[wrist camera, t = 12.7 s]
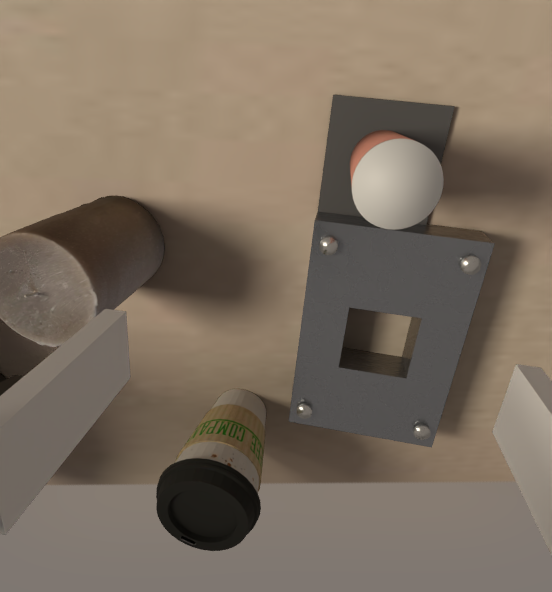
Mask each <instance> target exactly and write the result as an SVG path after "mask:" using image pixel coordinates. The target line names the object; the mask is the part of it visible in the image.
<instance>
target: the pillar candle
mask: <svg viewBox="0 0 552 592" xmlns="http://www.w3.org/2000/svg"><path fill="white" fill-rule="evenodd" d="M164 249H165V248H164V240H163V235H162V232H161V230H160V228H159V226H158V224H157V222H156V221H155V219H154V218H153V217H152V215H151V214H150V213H149V212H148V211H146V210H145V209H144V208H143V207H142V206H140V205H139V204H137V203H136V202H134V201H132V200H130V199H128V198H125V197H121V196H106V197H105V198H104V197H103V198H102V197H101V198H99V199H97V200H95V201H93V202H91V203H88V204H83V205H81V206H80V207H77V208H74V209H72V210H69V211H66V212H64V213H61V214H58V215H55V216H52V217H50V218H47V219H44V220H42V221H39V222H37V223H34V224H32V225H29V226H26V227H24V228H21V229H19V230H16V231H14V232H11V233H9V234H7V235H5V236H2V237H1V238H0V319H2V320H3V321H4V322H5V323H6V324H7V325H8V326H9V327H10V328H11V329H13V330H14V331H16V332H17V333H18V334H20V335H22V336H23V337H25V338H28V339H29V340H32V341H34V342H36V343H37V344H39V345H47V346H50V347H57V346H61V345H62V344H64V343H65V342H66V341H67V340H68V339H70V338H71V337H72V336H73V335H74V334H76V333H77V332H78V331H79V330H80V329H82V328H83V327H84V326H85V325H86V324H88V323H89V322H90V321H91V320H92V319H94V318H95V317H96V316H97V315H98V314H100V313H101V312H102V311H103V310H104V309H111V310H114V309H115V308H116V307H117V306H119V305H120V304H121V303H122V302H123V301H124V300H126V299H127V298H128V297H129V296H130V295H132V294H133V293H134V292H135V291H136V290H137V289H138V288H139V287H141V286H142V285H143V284H144V283H145V282H146V281H147V280H148V279H150V278H151V277H152V276H153V275H154V274H155V273H156V271H157V270H158V268H159V267H160V265H161V263H162V260H163V256H164Z"/></svg>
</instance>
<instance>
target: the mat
mask: <svg viewBox="0 0 552 592" xmlns="http://www.w3.org/2000/svg"><path fill="white" fill-rule="evenodd" d="M454 107H455V106H445V105H434V104H424V103H414V102H403V101H393V100H383V99H373V98H362V97H352V96H342V95H333V100H332V108H331V115H330V123H329V131H328V138H327V146H326V153H325V161H324V168H323V176H322V184H321V191H320V199H319V206H318V211H319V212H326V213H334V214H342V215H350V216H358V217H363V216H362V215H361V214H360V212H359V211H358V209H357V208H356V205H355V203H354V200H353V195H352V186H351V173H350V158H351V154H352V151H353V149H354V147H355V146H356V144H357V143H358V142H359V141H360V140H361V139H362V138H363V137H364V136H366V135H367V134H369V133H371V132H374V131H378V130H389V131H393V132H396V133H398V134H400V135H403V136H405V137H407V138H410V139H412V140H414V141H417V142H419V143H421V144H423V145H425V146H426V147H427V148H429V149H430V150H431V151H432V152H433V153H434V154H435V156H436V157H437V159H438V160H439V162H440V165H441V161H442V157H443V153H444V149H445V145H446V140H447V136H448V132H449V128H450V124H451V119H452V115H453V111H454ZM428 216H429V215H428ZM428 216H427V217H426V218H425V219H423V220H422V221H421V222H419V223H417V224H421V225H426V224H427V220H428Z"/></svg>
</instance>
